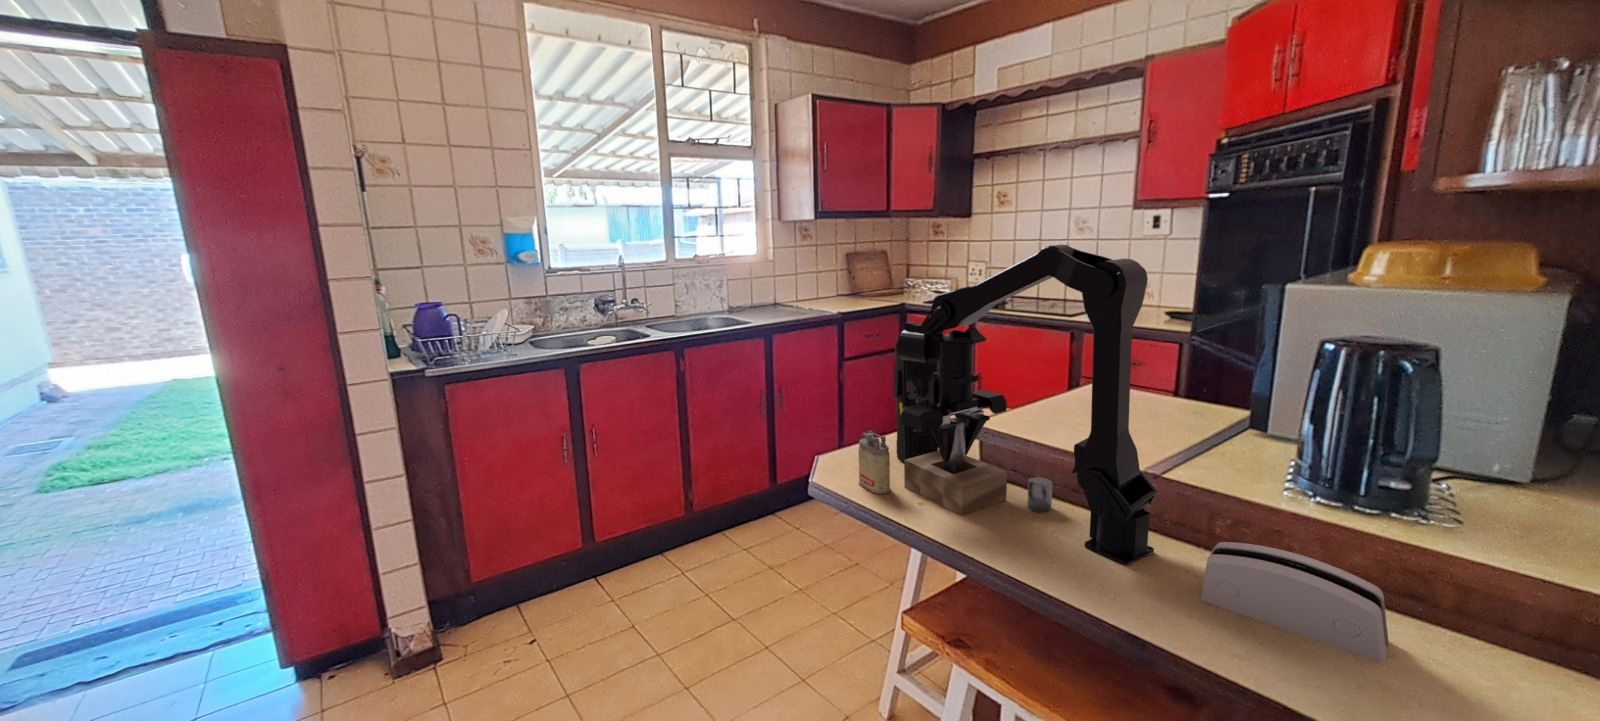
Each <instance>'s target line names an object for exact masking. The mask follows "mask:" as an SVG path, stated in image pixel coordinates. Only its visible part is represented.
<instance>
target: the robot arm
mask: <svg viewBox="0 0 1600 721" xmlns="http://www.w3.org/2000/svg"><path fill="white" fill-rule="evenodd" d="M1052 278H1054V279H1056V280H1057V281H1058V282H1060V283H1062V284H1063V285H1064V286H1066V287H1068V288H1070V289H1073V290H1075V291H1078V292H1080V293H1081V295H1082V303H1083V308H1084V309H1083V310H1084V312H1085V313H1086V316H1087V318H1088V321H1089V322H1090V324H1091V327H1092V332H1093V334H1092V335H1093V336H1092V370H1091V372H1092V375H1091V407H1090V408H1091V411H1090V412H1091V413H1090V414H1091V416H1090V420H1091V421H1090V432H1089V435H1088V437H1087V438H1085V439H1083V440H1081V441H1079V442H1077V443H1075V444H1074V445H1073V456H1074V467H1073V468H1072V471H1071V472H1072V474H1076V479H1077V480H1076V481H1077V484H1078V486H1079V488H1080V489H1082V490H1083V491H1084V495H1085V497H1086V500H1087V505H1088V508H1089V512H1090V519H1089V532H1088V533H1089V534H1088V535H1089V538H1090V539H1088V540H1086V541H1084V542H1083V543H1084V547H1086V548H1087V549H1089V550H1092V551H1094V552H1097V553H1099V554H1101V555H1102V556H1104V557H1107V558H1110V559H1112V560H1113V561H1116V562H1118V563H1120V564H1123V565H1130V564H1132V563H1134V562H1136V561H1138V560H1140V559H1143V558H1144V557H1147V556H1149V555H1151V554H1153V553H1154V552H1155V551H1154V550H1155V548H1154V547H1152V546H1151V545H1148V541H1149V528H1150V518H1151V516H1150V515H1151V513H1150V512H1149V511H1147V510H1145V508H1146V507H1147V506H1148V505H1151V504H1152V503H1153V501H1154V500H1155V497H1156V495H1158V491H1157V489H1156V488H1155V486H1154V485H1153V484H1152V483H1151V482H1150V480H1149V479H1147V478H1146V476H1145V475H1144V474H1143V472H1142V471H1141V468H1140V461H1139V454H1138V450H1137V446H1136V444H1135V443H1134V440H1133V438H1132V436H1131V434H1130V430H1129V429H1130V428H1129V427H1130V425H1129V424H1130V419H1129V418H1130V402H1131V400H1130V397H1131V396H1130V395H1131V373H1132V372H1131V369H1132V363H1131V362H1132V344H1133V343H1132V342H1133V341H1132V340H1133V328H1134V325H1135V323H1136V321H1137V318H1138V315H1139V313H1140V312H1141V309H1142V307H1143V303H1144V299H1145V294H1146V289H1147V286H1148V273H1147V271H1146V269H1145V267H1143V265H1141V264H1140V263H1139V262H1138V261H1136V260H1134V259H1132V258H1119V259H1112V258H1109V257H1107V256H1103V255H1098V254H1095V253H1090V252H1087V251H1082V250H1080V249H1077V248H1073V247H1071V246H1070V245H1067V244H1055V245H1048V246H1044V247H1042V248H1041V249H1040V251H1038V252H1037V253H1036V252H1035V253H1034V254H1032V255H1031V256H1029V257H1026V258H1024V259H1023V260H1021V261H1019V262H1018V263H1015V264H1013V265H1011V266H1009V267H1008V268H1005V269H1003V270H1002V271H999V272H997V273H996V274H994V275H991V277H988V278H986V279H983V280H982V281H981V282H979V283H976V284H973V285H968V286H965V287H961V288H957V289H953V290H949V291H946V292H942V293H940V294H937V295H936V296H935V297H934V298H933V299H932V301H931V302H932V305H931V309H930V311H929V312H928V313H927V315H926V317H925V318H924V320H923V321H922V323H920V322H917V321H908V322H904V325H903V330H902V331H901V332H900V334H899V336H898V338H897V342H896V343H895V347H896V350H897V354H898V356H899V357H900V358H901V359H902V360H907V361H913V362H919V363H925V364H934V363H935V362H936V361H937V372H936V373H932V375H931V382H927V383H922V382H921V380H920V379H915V380H910V381H907V387H906V392H907V396H908V398H909V399H914V398H915V399H916V403H920V404H916V405H911V406H907V407H904V409H903V410H902V411H901V423H902V424H905V425H907V426H910V427H913V428H915V429H918V430H921V431H929V430H931V432H932V434H933V436H934V438H935V440H936V443H937V446H938V451H940V454H941V457H942V459H943V460H944V461H946V462H947V461H949V458H950V455H951V450H952V445H953V440H954V435H955V430H956V426H955V425H952V424H950V418H951V417H952V416H954V418H959V419H963V420H965V421H966V444H965V456H967V455H968V453H969V451H970V450H971V447H972V446H973V444H974V442H975V440H976V439H977V437H978V435H979V434H980V432H981V430H982V429H983V428H984V426H985V424H986V423H987V422H988V421H990V420H991V419H990V418H991V416H989V415H986V414H985V411H984V409H985V408H989V410H990V412H991V413H992V414H995V415H997V414H1001V413H1006V412H1007V402H1008V401H1007V399H1006V397H1005V396H1004V395H1003V394H1002V393H997V392H994V391H990V390H985V389H980V390H976V391H974V382H979V374H975V373H974V345H977V344H981V343H985V342H986V341H987V338H986V337H985V336H984V335H983V334H982V333H981V332H980V331H979V330H978V329H977V327H975V326H974V327H969V328H967V329H966V330H964V331H963V330H956V329H958V328H960V327H963V326H969V325H973V324H974V323H976V322H978V321H979V320H980V319H982V318H983V317H985V315H987V314H989V312H990V311H991V309H993V307H995V306H997V305H998V304H999V303H1001V302H1003V301H1006V300H1007V299H1009V298H1012V297H1014V296H1016V295H1019V294H1020V293H1023V292H1024V291H1027V290H1028V289H1030V288H1033V287H1035V286H1037V285H1040V284H1042V283H1043V282H1045V281H1048V280H1050V279H1052ZM949 330H950V331H949ZM945 331H949V332H948V333H947V334H946V333H945V334H944V332H945ZM925 400H929V403H931V404H937V407H931V406H927V405H924V404H921V402H922V401H925Z"/></svg>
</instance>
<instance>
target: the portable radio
mask: <svg viewBox="0 0 1600 721" xmlns="http://www.w3.org/2000/svg"><path fill="white" fill-rule="evenodd" d="M894 352H895V353H894V355H895V356H894V358H895V363H896V364H895V365H896V366H895V367H894V374H893V375H894V376H893V378H894V379H893V396H894V397H896V457H897V459H899V461H901V462H902V463H904V460H906V459H909V458H913V457H917V456H920V455H924V454H928V453H932V452H935V451H939V448H938V446H937V443H936V440H935V438H934V436H933V434H932V432H931V430H929V431H921V430H918V429H915V428H913V427H910V426H907V425H905V424H902V423H901V411H902V410H903V409H904V407H907V406H911V405H916V404H920V403H916V399H915V398H914V399H909V398H908V396H907V392H906V387H907V381H910V380H915V379H920V380H921V382H922V383H927V382H931V375H932V373H936V372H937V361H936V362H935V363H934V364H925V363H919V362H913V361H907V360H902V359H901V358H900V357H899V356H898V354H897V350H896V346H895V348H894ZM921 404H924V405H927V406H931V407H938V404H931V403H929V400H925V401H922V402H921Z"/></svg>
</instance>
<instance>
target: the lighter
mask: <svg viewBox="0 0 1600 721" xmlns="http://www.w3.org/2000/svg"><path fill="white" fill-rule="evenodd" d="M861 436H862V437H863V438H861V439H860V440H859V441H858V445H859V446H858V479H859V480H858V484H859V485H860V486H861V487H863V488H864V489H867V490H868V491H870V492H872V493H874V494H877V495H879V494H881V495H883V494H887V493H889V492H890V491H891V478H890V477H891V474H890V473H891V472H890V470H891V469H890V468H891V467H890V463H891V462H890V458H891V457H890V455H891V454H890V451H889V450H890V449H889V448H890V447H889V446H888V444H886V439H887V438H886V435H879V434H877V433H875V432H874V431H872V430H868V431H867V432H862V435H861Z"/></svg>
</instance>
